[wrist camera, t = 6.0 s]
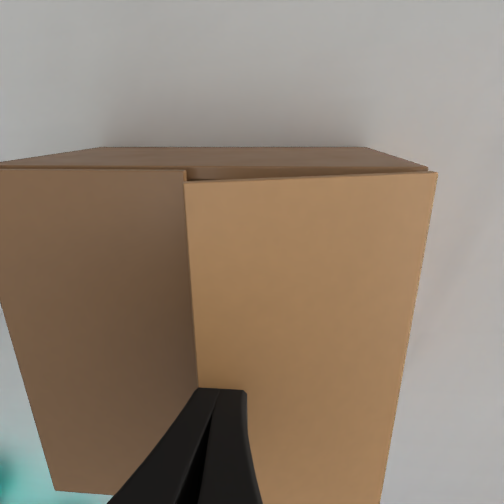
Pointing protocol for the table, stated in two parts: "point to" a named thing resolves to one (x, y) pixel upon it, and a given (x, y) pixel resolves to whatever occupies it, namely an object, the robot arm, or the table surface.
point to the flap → (309, 318)
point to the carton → (118, 290)
